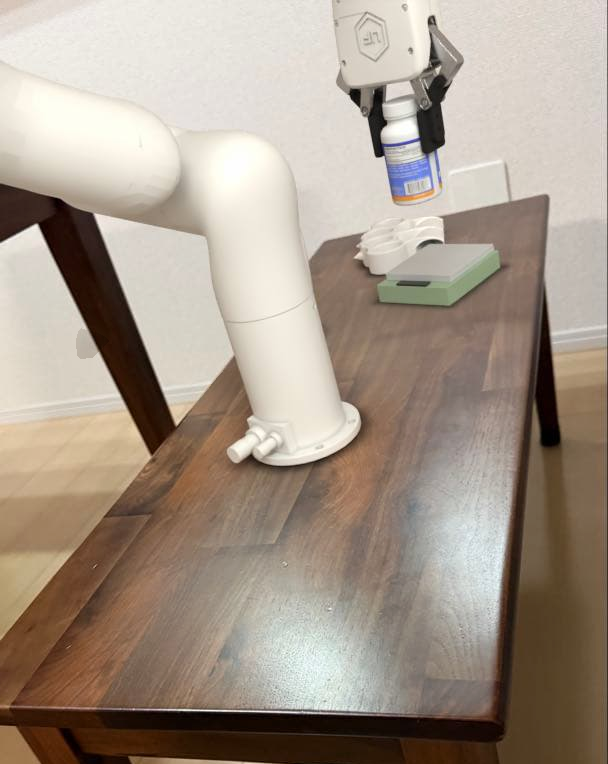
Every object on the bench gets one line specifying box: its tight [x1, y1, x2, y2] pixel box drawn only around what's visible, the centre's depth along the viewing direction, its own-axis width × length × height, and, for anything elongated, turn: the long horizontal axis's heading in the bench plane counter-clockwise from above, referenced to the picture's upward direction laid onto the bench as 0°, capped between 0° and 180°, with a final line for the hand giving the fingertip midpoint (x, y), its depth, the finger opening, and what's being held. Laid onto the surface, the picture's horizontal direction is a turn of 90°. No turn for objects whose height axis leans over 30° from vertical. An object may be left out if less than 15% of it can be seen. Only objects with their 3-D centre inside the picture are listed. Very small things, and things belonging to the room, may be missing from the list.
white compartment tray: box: [352, 215, 446, 276], centre depth 135 cm, size 3×18×15 cm
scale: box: [376, 243, 501, 307], centre depth 119 cm, size 13×12×4 cm
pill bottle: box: [381, 93, 443, 207], centre depth 87 cm, size 5×5×10 cm
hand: (409, 149), depth 87 cm, fingers closed on pill bottle, 5 cm apart
